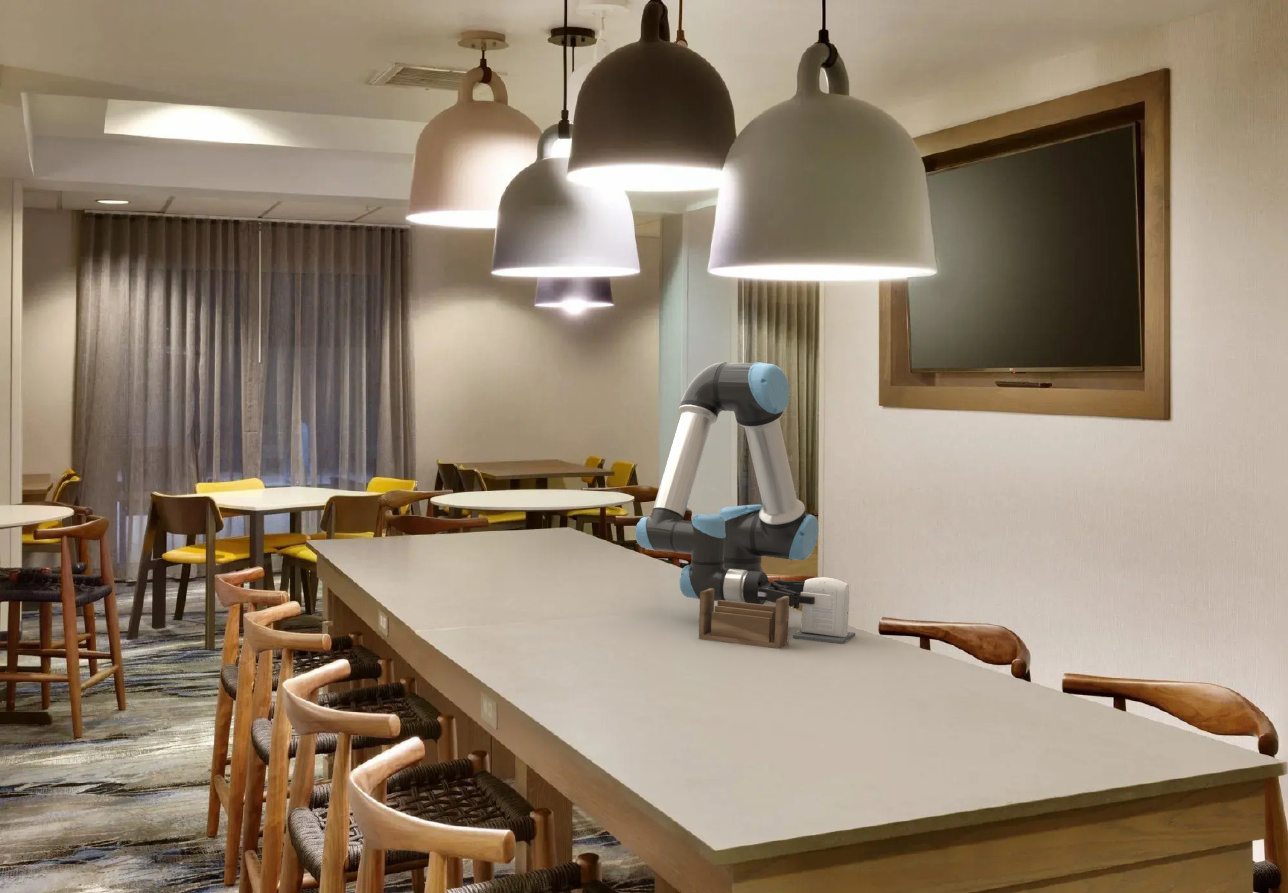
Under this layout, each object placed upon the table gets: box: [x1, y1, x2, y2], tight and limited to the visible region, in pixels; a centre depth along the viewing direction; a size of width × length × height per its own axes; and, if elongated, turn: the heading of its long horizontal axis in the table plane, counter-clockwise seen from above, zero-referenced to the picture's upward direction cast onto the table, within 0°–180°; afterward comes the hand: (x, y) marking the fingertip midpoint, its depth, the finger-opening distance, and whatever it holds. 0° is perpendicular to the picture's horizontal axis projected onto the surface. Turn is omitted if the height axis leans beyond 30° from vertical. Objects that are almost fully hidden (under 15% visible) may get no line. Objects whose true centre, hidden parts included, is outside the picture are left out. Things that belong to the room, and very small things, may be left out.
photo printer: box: [800, 576, 850, 637], centre depth 260 cm, size 10×4×12 cm, turn 64°
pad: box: [792, 630, 856, 644], centre depth 261 cm, size 10×11×1 cm
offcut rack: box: [698, 588, 790, 649], centre depth 254 cm, size 6×18×10 cm, turn 64°
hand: (839, 596), depth 259 cm, fingers open, 13 cm apart
